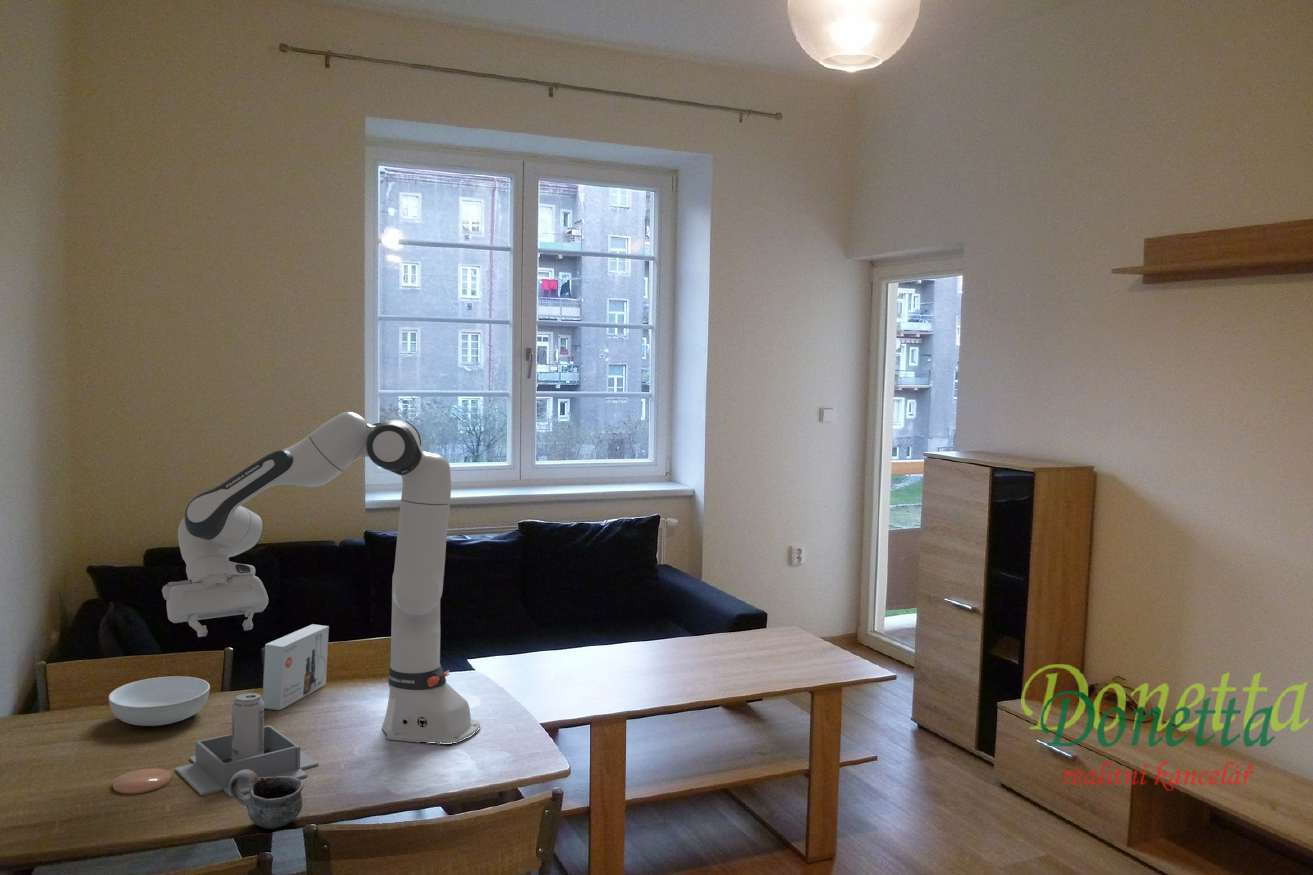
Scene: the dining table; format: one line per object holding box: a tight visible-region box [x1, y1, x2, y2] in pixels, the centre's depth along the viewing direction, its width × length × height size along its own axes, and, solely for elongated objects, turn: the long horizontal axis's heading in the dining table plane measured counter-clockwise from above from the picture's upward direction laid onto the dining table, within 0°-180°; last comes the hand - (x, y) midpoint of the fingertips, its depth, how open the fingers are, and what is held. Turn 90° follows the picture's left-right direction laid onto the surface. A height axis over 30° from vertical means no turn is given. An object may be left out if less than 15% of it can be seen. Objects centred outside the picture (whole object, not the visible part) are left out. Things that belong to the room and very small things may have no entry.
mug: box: [229, 770, 305, 830], centre depth 173 cm, size 10×12×10 cm
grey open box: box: [174, 724, 319, 798], centre depth 197 cm, size 23×23×5 cm
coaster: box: [112, 767, 172, 795], centre depth 188 cm, size 10×10×1 cm
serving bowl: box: [108, 675, 211, 727], centre depth 222 cm, size 21×21×7 cm
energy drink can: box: [231, 692, 265, 762], centre depth 197 cm, size 6×6×15 cm
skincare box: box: [262, 623, 330, 711], centre depth 240 cm, size 21×5×16 cm, turn 168°
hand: (226, 631), depth 204 cm, fingers open, 8 cm apart
